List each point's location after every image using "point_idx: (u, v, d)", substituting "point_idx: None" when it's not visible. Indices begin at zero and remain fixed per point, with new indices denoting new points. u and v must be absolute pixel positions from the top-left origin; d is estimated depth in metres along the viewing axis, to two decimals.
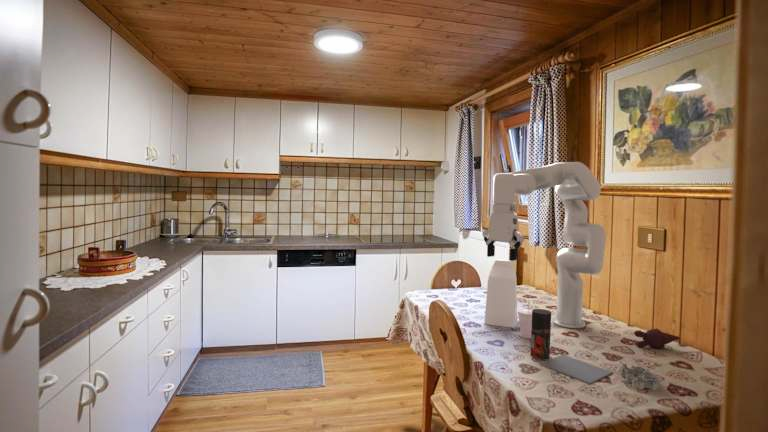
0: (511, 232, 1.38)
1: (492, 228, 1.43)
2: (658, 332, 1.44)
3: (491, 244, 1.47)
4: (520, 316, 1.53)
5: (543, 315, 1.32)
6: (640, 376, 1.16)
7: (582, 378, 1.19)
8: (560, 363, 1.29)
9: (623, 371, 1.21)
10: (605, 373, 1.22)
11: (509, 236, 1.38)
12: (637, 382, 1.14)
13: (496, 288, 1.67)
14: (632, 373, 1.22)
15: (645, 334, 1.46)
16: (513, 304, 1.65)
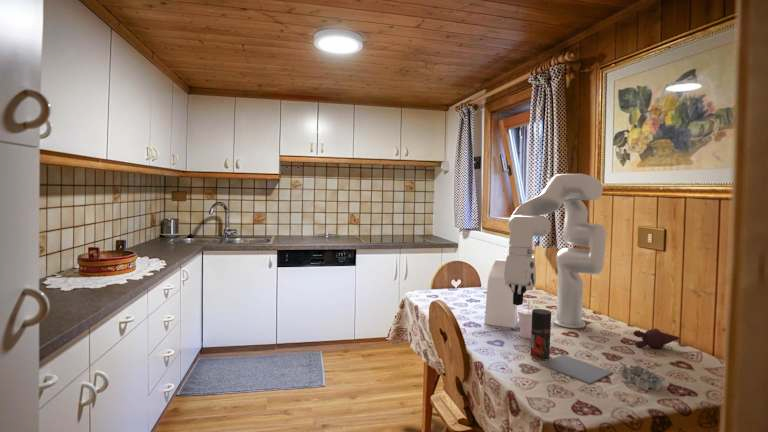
0: (528, 276, 1.37)
1: (508, 270, 1.42)
2: (657, 332, 1.44)
3: None
4: (520, 316, 1.53)
5: (543, 315, 1.32)
6: (643, 376, 1.16)
7: (582, 378, 1.19)
8: (560, 363, 1.29)
9: (624, 372, 1.21)
10: (605, 373, 1.22)
11: (526, 280, 1.37)
12: (642, 383, 1.14)
13: (496, 288, 1.67)
14: (631, 373, 1.23)
15: (644, 334, 1.46)
16: (513, 304, 1.65)
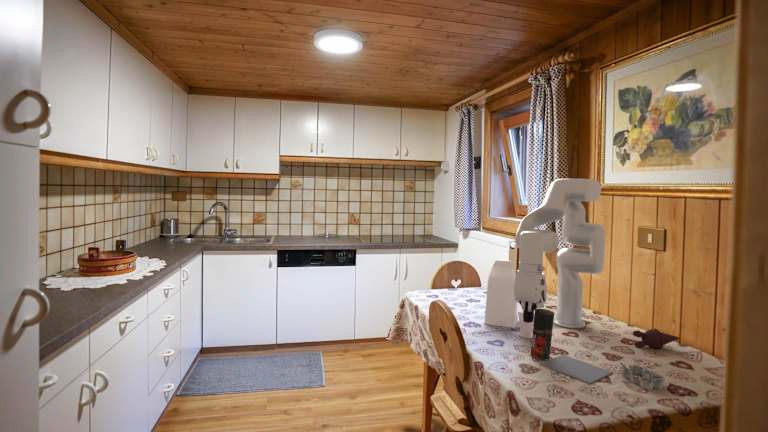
0: (539, 293, 1.34)
1: (518, 287, 1.39)
2: (657, 332, 1.44)
3: (527, 309, 1.39)
4: (520, 316, 1.53)
5: (546, 316, 1.31)
6: (645, 376, 1.16)
7: (582, 378, 1.19)
8: (560, 363, 1.29)
9: (625, 372, 1.21)
10: (605, 373, 1.22)
11: (537, 298, 1.34)
12: (646, 383, 1.14)
13: (496, 288, 1.67)
14: None
15: (644, 334, 1.46)
16: (513, 304, 1.65)
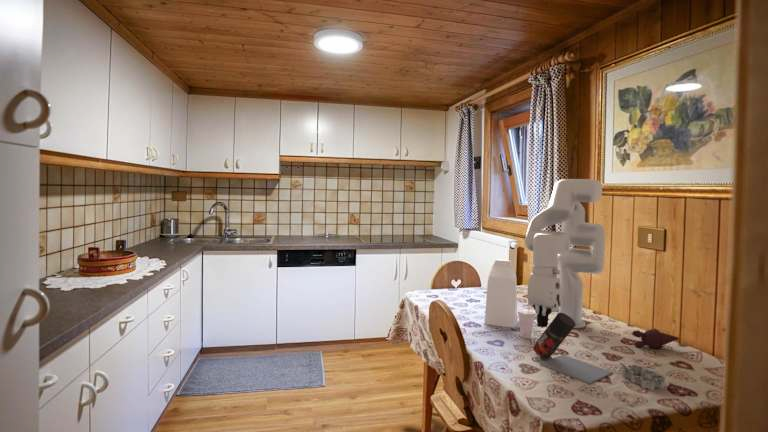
0: (554, 298, 1.29)
1: (532, 291, 1.35)
2: (656, 332, 1.44)
3: (541, 313, 1.35)
4: (520, 316, 1.53)
5: (567, 326, 1.27)
6: (647, 376, 1.17)
7: (582, 378, 1.19)
8: (560, 363, 1.29)
9: (626, 372, 1.21)
10: (605, 373, 1.22)
11: (552, 302, 1.30)
12: (648, 383, 1.14)
13: (496, 288, 1.67)
14: None
15: (643, 334, 1.46)
16: (513, 304, 1.65)
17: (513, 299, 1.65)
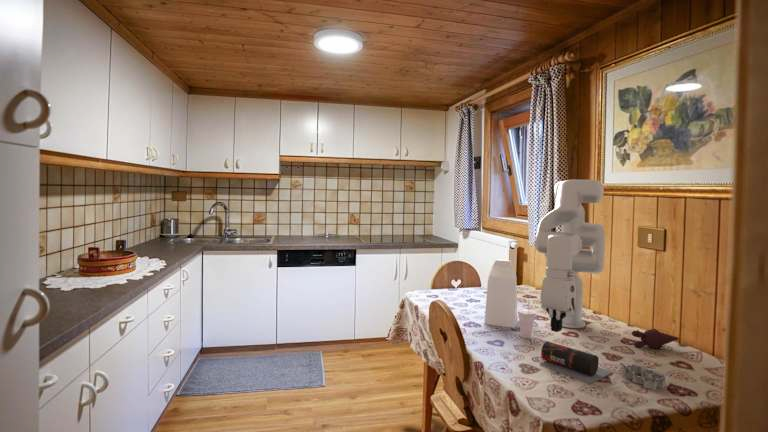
0: (569, 301, 1.25)
1: (545, 294, 1.31)
2: (656, 332, 1.44)
3: (555, 317, 1.31)
4: (520, 316, 1.53)
5: None
6: (648, 376, 1.17)
7: (582, 378, 1.19)
8: None
9: (626, 373, 1.20)
10: (605, 373, 1.22)
11: (567, 305, 1.26)
12: (650, 383, 1.14)
13: (496, 288, 1.67)
14: None
15: (643, 334, 1.46)
16: (513, 304, 1.65)
17: (513, 299, 1.65)
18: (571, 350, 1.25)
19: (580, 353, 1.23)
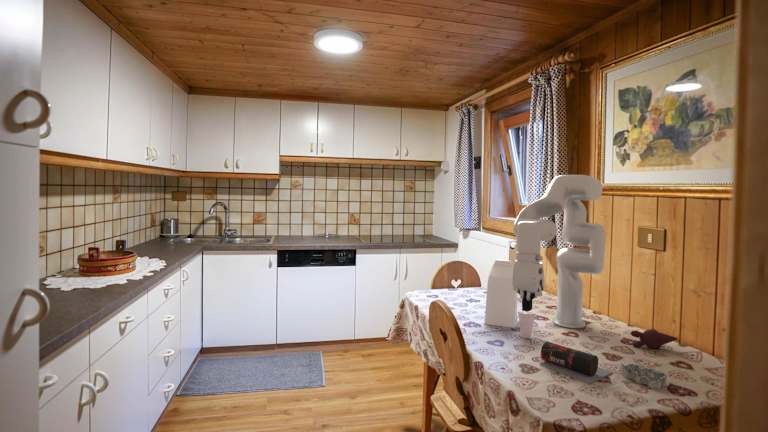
0: (537, 283, 1.35)
1: (516, 276, 1.40)
2: (655, 332, 1.44)
3: None
4: (520, 316, 1.53)
5: None
6: (650, 375, 1.17)
7: (582, 378, 1.19)
8: None
9: (628, 373, 1.20)
10: (605, 373, 1.22)
11: (535, 287, 1.35)
12: (655, 382, 1.14)
13: (496, 288, 1.67)
14: None
15: (642, 334, 1.46)
16: (513, 304, 1.65)
17: (513, 299, 1.65)
18: (570, 351, 1.25)
19: (579, 354, 1.22)
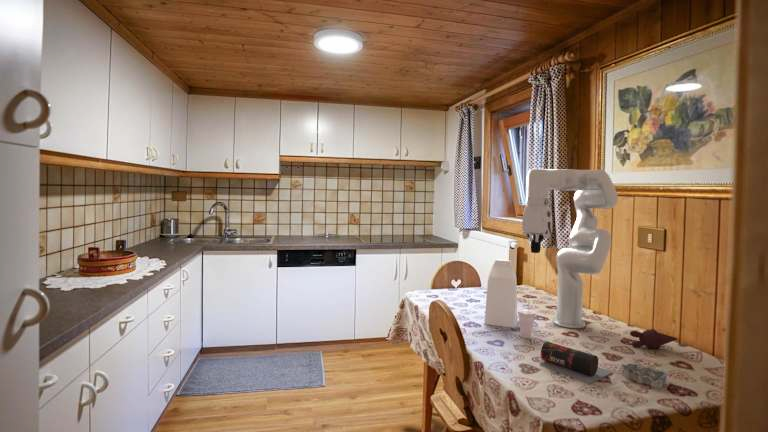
0: (545, 224, 1.46)
1: (526, 221, 1.51)
2: (654, 332, 1.44)
3: None
4: (520, 316, 1.53)
5: None
6: (651, 375, 1.18)
7: (582, 378, 1.19)
8: None
9: (629, 373, 1.20)
10: (605, 373, 1.22)
11: (544, 228, 1.46)
12: (657, 382, 1.15)
13: (496, 288, 1.67)
14: None
15: (641, 334, 1.46)
16: (513, 304, 1.65)
17: (513, 299, 1.65)
18: (570, 351, 1.25)
19: (579, 354, 1.22)
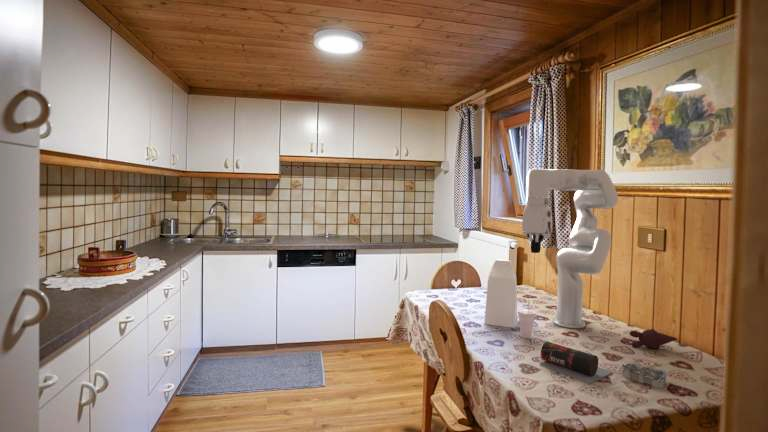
0: (546, 224, 1.46)
1: (526, 221, 1.51)
2: (654, 332, 1.44)
3: None
4: (520, 316, 1.53)
5: None
6: (652, 374, 1.18)
7: (582, 378, 1.19)
8: None
9: (630, 374, 1.20)
10: (605, 373, 1.22)
11: (544, 228, 1.46)
12: (659, 381, 1.15)
13: (496, 288, 1.67)
14: None
15: (640, 334, 1.46)
16: (513, 304, 1.65)
17: (513, 299, 1.65)
18: (570, 351, 1.25)
19: (579, 354, 1.22)
